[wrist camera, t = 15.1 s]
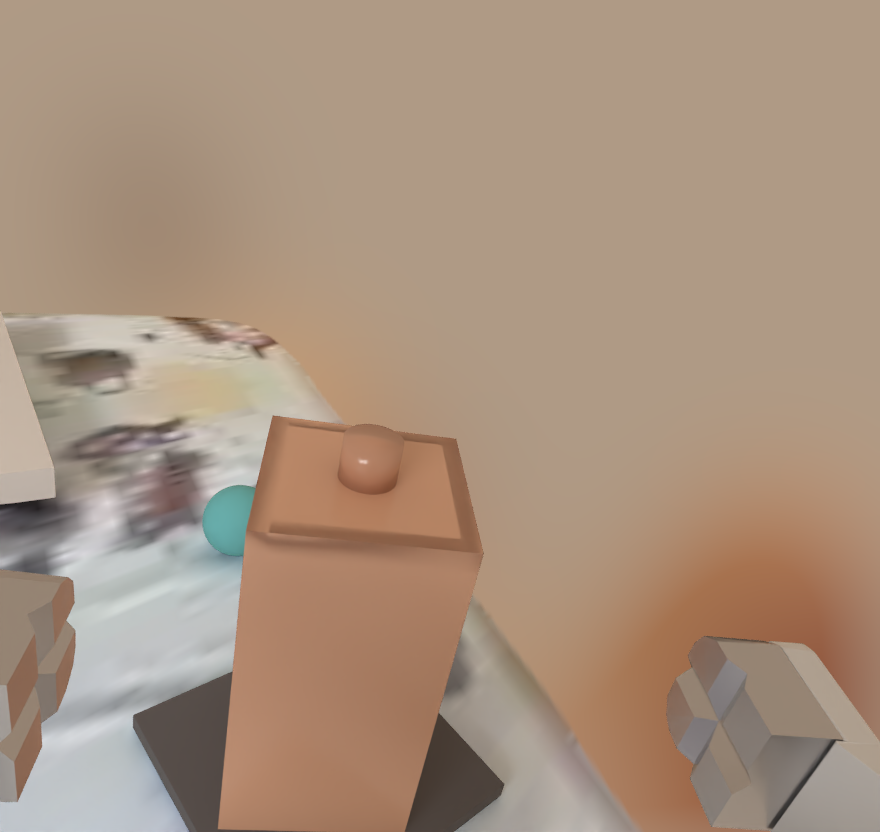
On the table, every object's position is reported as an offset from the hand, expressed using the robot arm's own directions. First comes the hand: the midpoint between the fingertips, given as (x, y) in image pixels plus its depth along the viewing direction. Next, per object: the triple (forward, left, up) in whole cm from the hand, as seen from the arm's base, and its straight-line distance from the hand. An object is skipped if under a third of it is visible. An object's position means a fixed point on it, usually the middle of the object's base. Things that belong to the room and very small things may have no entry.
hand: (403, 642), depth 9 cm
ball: (-19, +9, -15) cm, 26 cm away
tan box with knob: (-7, +6, -15) cm, 17 cm away
